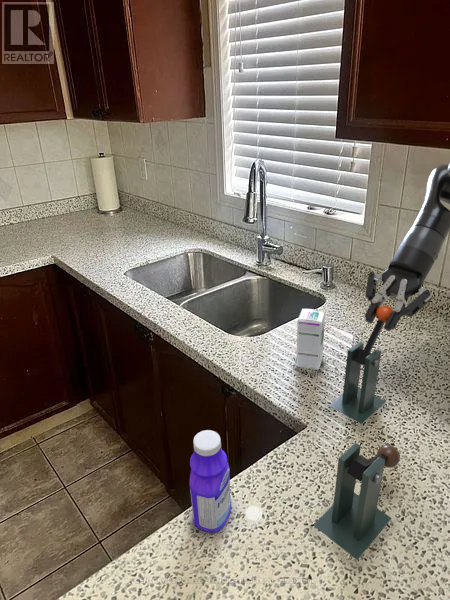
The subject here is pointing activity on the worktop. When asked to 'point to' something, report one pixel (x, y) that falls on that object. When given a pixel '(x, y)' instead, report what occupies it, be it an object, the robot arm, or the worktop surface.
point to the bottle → (209, 482)
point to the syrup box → (310, 338)
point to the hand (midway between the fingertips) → (377, 325)
